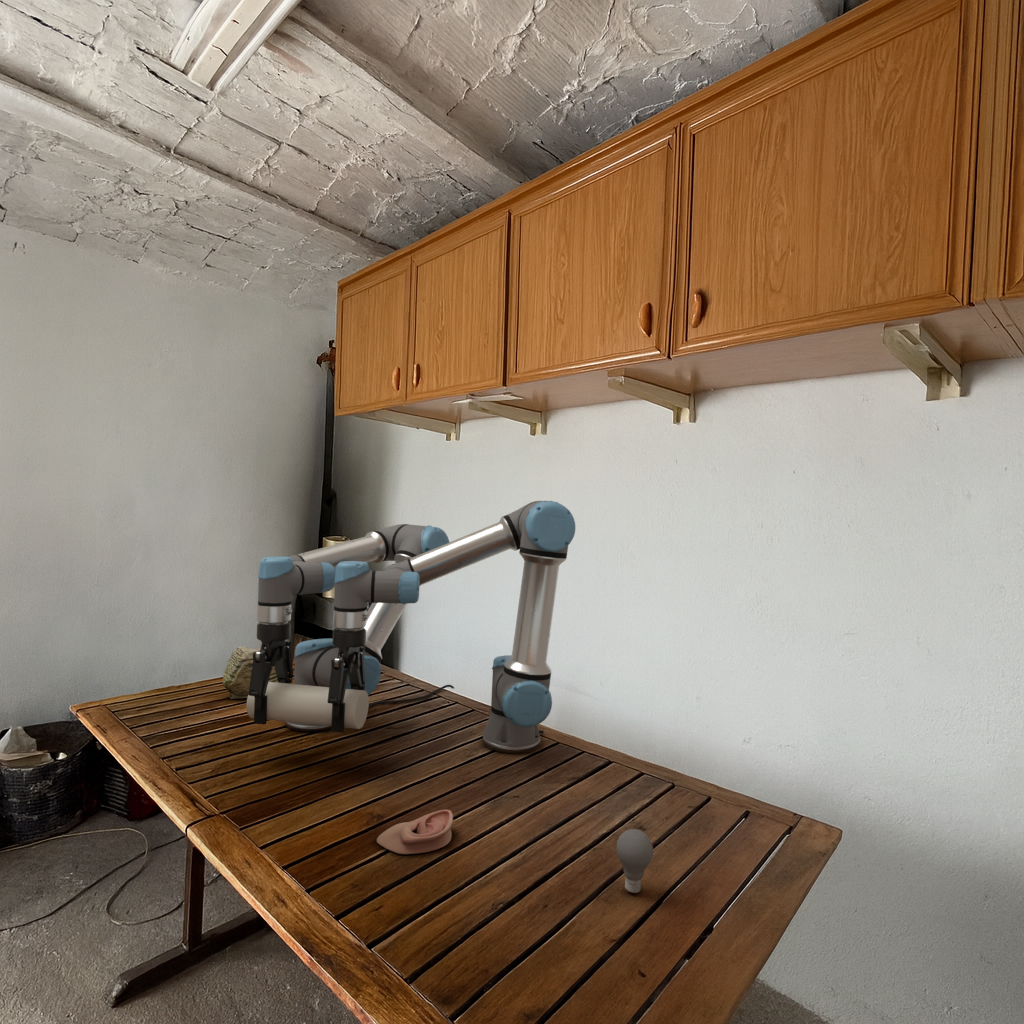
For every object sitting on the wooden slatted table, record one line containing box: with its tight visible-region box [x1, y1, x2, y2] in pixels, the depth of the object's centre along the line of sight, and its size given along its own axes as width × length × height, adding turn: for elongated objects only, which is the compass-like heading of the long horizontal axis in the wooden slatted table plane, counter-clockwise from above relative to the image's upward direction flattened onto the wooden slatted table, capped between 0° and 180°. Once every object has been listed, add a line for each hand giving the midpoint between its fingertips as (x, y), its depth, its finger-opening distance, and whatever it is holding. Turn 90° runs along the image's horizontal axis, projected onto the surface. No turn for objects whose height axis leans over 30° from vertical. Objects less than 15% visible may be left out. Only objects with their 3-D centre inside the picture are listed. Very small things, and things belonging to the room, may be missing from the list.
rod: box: [246, 682, 370, 730], centre depth 149 cm, size 26×9×9 cm, turn 82°
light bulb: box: [615, 828, 654, 894], centre depth 106 cm, size 6×6×10 cm
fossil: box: [222, 646, 279, 699], centre depth 198 cm, size 9×18×15 cm, turn 132°
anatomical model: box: [376, 809, 454, 855], centre depth 119 cm, size 13×4×12 cm
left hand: (270, 716), depth 150 cm, fingers closed on rod, 9 cm apart
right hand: (346, 724), depth 148 cm, fingers closed on rod, 9 cm apart
